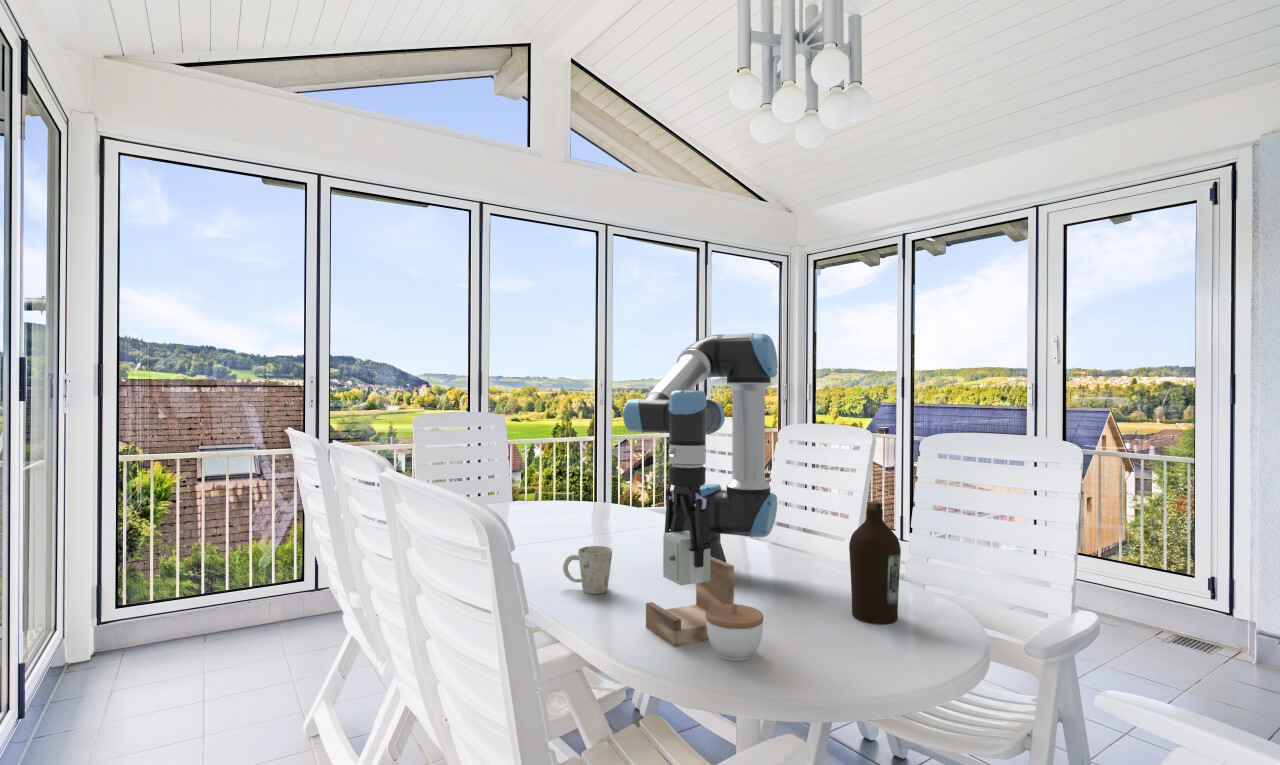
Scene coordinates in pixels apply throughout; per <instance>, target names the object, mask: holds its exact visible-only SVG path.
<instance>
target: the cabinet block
mask: <svg viewBox="0 0 1280 765" xmlns="http://www.w3.org/2000/svg"><path fill="white" fill-rule="evenodd" d="M662 538H663V544H662V546H663V547H662V548H663V550H662V552H663V555H662V556H663V557H662V558H663V559H662V560H663V562H662V563H663V564H662V566H663V567H662V569H663V570H662V573H663V576H662V577H663V578H665V579H666V580H669V581H671V582H672V583H675V584H677V585H679V586H685V585H691V584H690V583H689V577H690V550H689V549H690V548H692V544H691V538H690V533H689V531H679V532H669V533H665V532H663V537H662ZM703 560H704V561H703V562H704V565H703V582H708V581H710V548H709V549H705V550H704V559H703Z"/></svg>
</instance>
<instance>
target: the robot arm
mask: <svg viewBox="0 0 1280 765" xmlns="http://www.w3.org/2000/svg"><path fill="white" fill-rule="evenodd" d="M777 375H778V355H777V351H776V347H775V344H774V340H773V339H772V338H771V336H769V335H768V334H767V333H754V332H751V333H734V334H732V333H731V334H714V335H713V334H712V335H709V336H706V337H703V338H701V339H699V340H696V341H695V342H693V343H692V344H690V345H689V346H687V347H686V348H685V349H684V350H682V351H681V353H680V354H679V355H678V357H677V359H676V363H675V365H674V366H673V367H672V368H671V369H670V370H669V371H668V372H667V373H666V375H665V374H664V376H663V377H662V378H661V380H659V382H657V384H656V385H655V386H654V387H653V388H652V389H651V390H650V391H649V392H648V393H647V395H646V396H645V397H644V398H639V397H638V398H633V399H629V400H627V402H625V404H624V406H623V407H624V408H623V413H622V418H623V424H624V426H625V428H626V429H627V431H629V432H634V433H635V432H637V433H641V434H643V433H655V434H656V433H659V434H660V433H661V434H662V433H663V434H666V433H667V434H668V435H669V437H668V439H669V440H668V441H669V442H668V446H669V448H668V450H667V451H668V452H667V453H668V458H669V459H668V462H669V464H671V465H670V466H669V467H668V484H670V485H672V486H673V490H671V489H670V490H666V491H665V497H666V498H665V499H666V508H665V523H664V533H669V532H679V531H689V533H690V538H691V544H692V548H690V549H689V550H690V577H689V583H690V584H689V585H692V584H694V585H696V583H702V582H703V565H704V562H703V561H704V560H703V559H704V550H705V549H709V548H710V556H711V557H714V558H716V559H719V560H721V561H723V562H726V563H728V562H727V558H726V555H725V552H724V549H723V545H722V543H721V541H722V540H721V535H733V536H740V537H749V538H765V537H768V536H769V535H770V534H771V532H772V531H773V528H774V525H775V521H776V517H777V511H778V497H777V495H776V494H774V493H773V492H771V485H770V484H769V482H767V480H766V478H765V476H766V475H765V474H766V473H765V472H766V470H765V466H766V465H765V458H766V457H765V455H766V454H765V453H766V452H765V450H766V449H765V448H766V446H765V443H766V442H765V440H766V436H765V435H766V432H765V430H766V428H765V426H766V425H765V424H766V422H765V420H766V418H765V417H766V414H765V413H766V412H765V411H766V409H765V408H766V407H765V406H766V402H765V401H766V397H765V396H766V389H767V388H768V387H770V385H771V382H772V378H775V377H777ZM709 378H726V385H728V387H729V388H730V389H731V390H732V400H731V402H732V412H731V413H732V414H731V415H732V417H731V418H732V420H731V421H732V423H731V424H732V425H731V426H732V428H731V430H732V433H731V434H732V438H731V439H732V442H731V443H732V444H731V445H732V446H731V447H732V450H731V452H732V455H731V456H732V463H731V464H732V469H731V470H732V472H731V473H732V475H731V476H732V477H731V480H730V481H728V483H727V484H726V490H722V486H721V484H718V483H717V484H716V483H707V484H706V468H705V466H704V465H705V464H706V463H707V459H706V458H707V453H706V452H707V450H706V447H707V446H706V442H707V441H706V439H707V437H706V435H711V434H714V433H715V432H718V431H719V430H720V429H721V428H722V427H723V426H724V423H725V420H726V419H725V418H726V415H725V411H724V409H723V408H724V407H723V406H721V404H719V402H717V401H715V400H712V399H709V398H708V399H707V397H706V392H705V391H703V390H694V389H695V387H696V386H697V385H698V384H699V383H702V382H705V380H707V379H709Z"/></svg>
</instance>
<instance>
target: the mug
mask: <svg viewBox="0 0 1280 765" xmlns="http://www.w3.org/2000/svg"><path fill="white" fill-rule="evenodd" d="M577 553H578V554H572V555H569V556H567V557H566V559H565V560H564V562H563V565H562V570H563V573H564V575H565V577H566V578H567V579H568V580H569V581H571V582H573V583H581V585H582V586H581V588H582V591H583V592H584V593H585V594H589V595H590V594H591V595H601V594H603V593H607V592H608V587H609V582H610V580H609V579H610V572H611V564H612V558H613V557H612V556H613V549H612V548H611V547H608V546H603V545H592V546H591V545H590V546H583V547H581V548H579V549H578V552H577ZM572 561H579V569H580V578H575V577H574V576H572V575H571V573H570V571H569V564H570V563H572Z"/></svg>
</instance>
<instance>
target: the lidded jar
mask: <svg viewBox="0 0 1280 765" xmlns="http://www.w3.org/2000/svg"><path fill="white" fill-rule="evenodd" d="M763 623H764V614H763V612H762V611H760V609H757V608H755V607H752V606H750V605H749V606H748V605H742V604H737V603H734V604H725V605H717V606H713V607H711V608H709V609H708V610H707V611H706V629H707V635H708V639H709V640H708V642H709V644H710V646H711V647H712V649H713V650H714V651H715V652H716V653H717V656H718V657H719V658H721V659H722V660H725V661H729V662H742V661H743V662H744V661H746V660H748V659H750V658H751V656H752V655H753V654H754V653H755V652H756V651H757V650H758V648H759V647H760V644H761V641H762V637H763V627H764V624H763Z"/></svg>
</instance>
